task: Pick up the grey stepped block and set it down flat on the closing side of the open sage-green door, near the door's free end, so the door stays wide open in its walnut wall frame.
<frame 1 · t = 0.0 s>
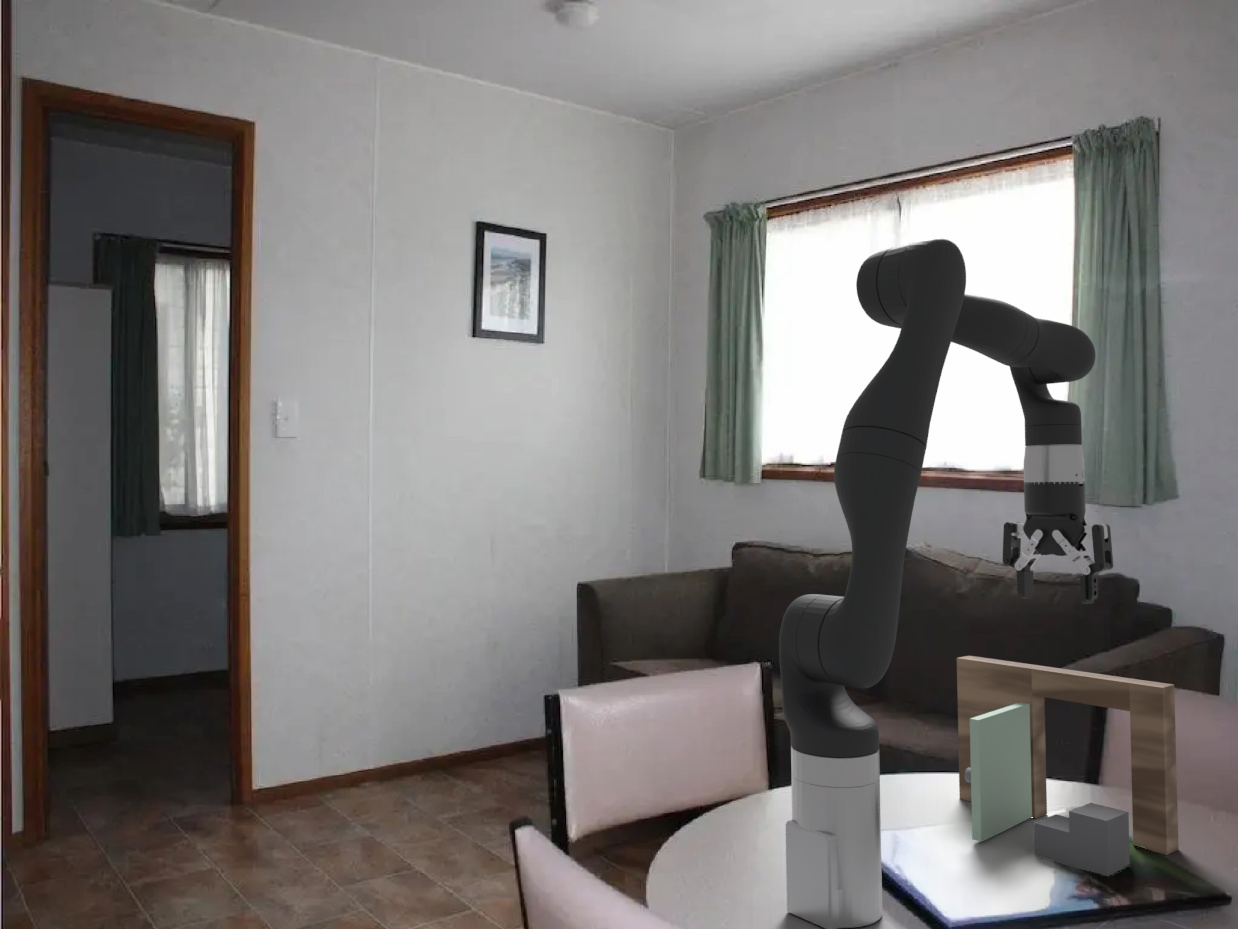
hand: (1056, 600, 135), 29 cm above the table, fingers open, 8 cm apart
grey stepped block: (1081, 862, 120), on the table
wall frame: (1088, 829, 130), on the table
door: (997, 768, 130), point 8 cm above the table, hinge at 85.0°
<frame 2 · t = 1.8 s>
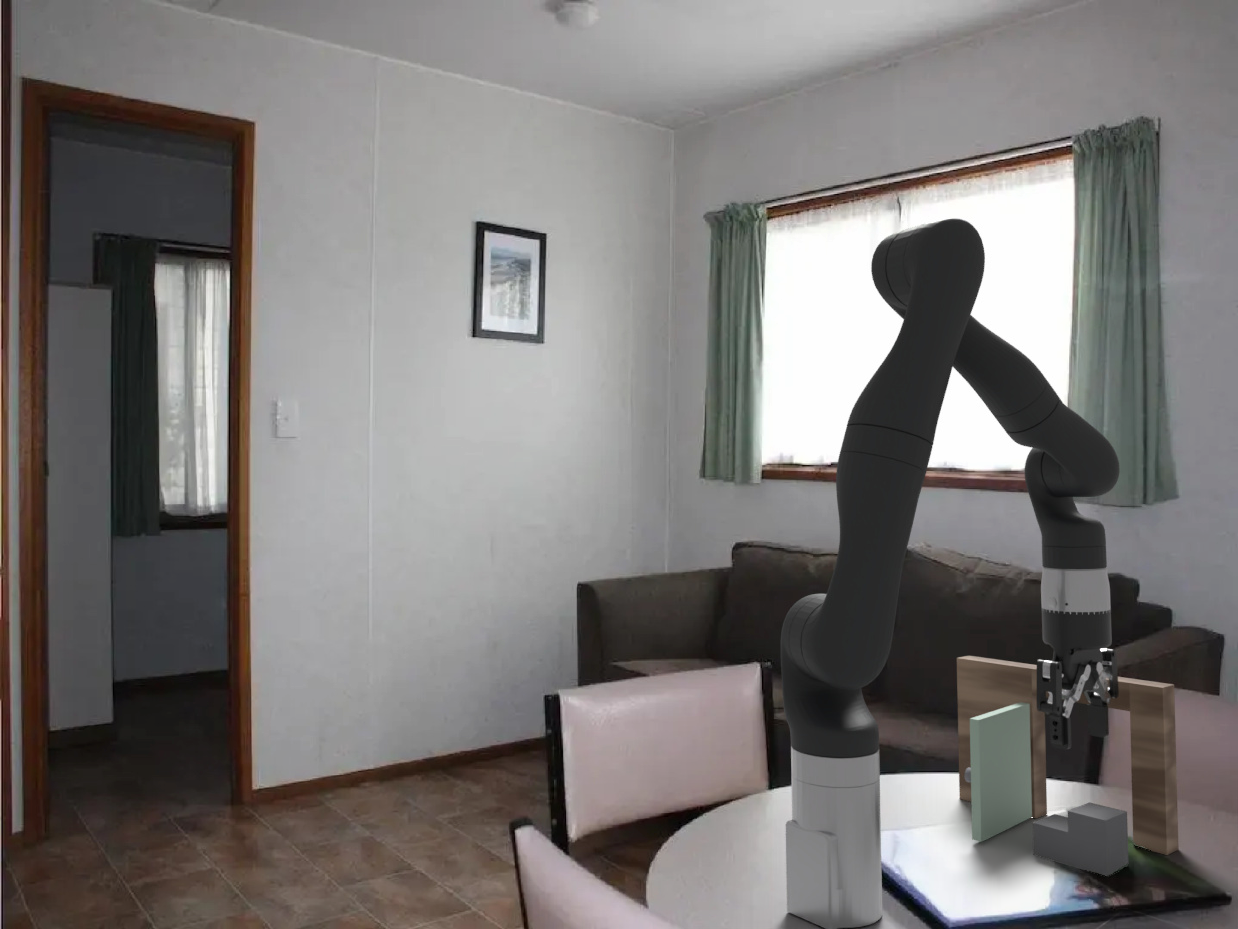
hand: (1080, 742, 120), 14 cm above the table, fingers open, 8 cm apart
nothing on the table moved.
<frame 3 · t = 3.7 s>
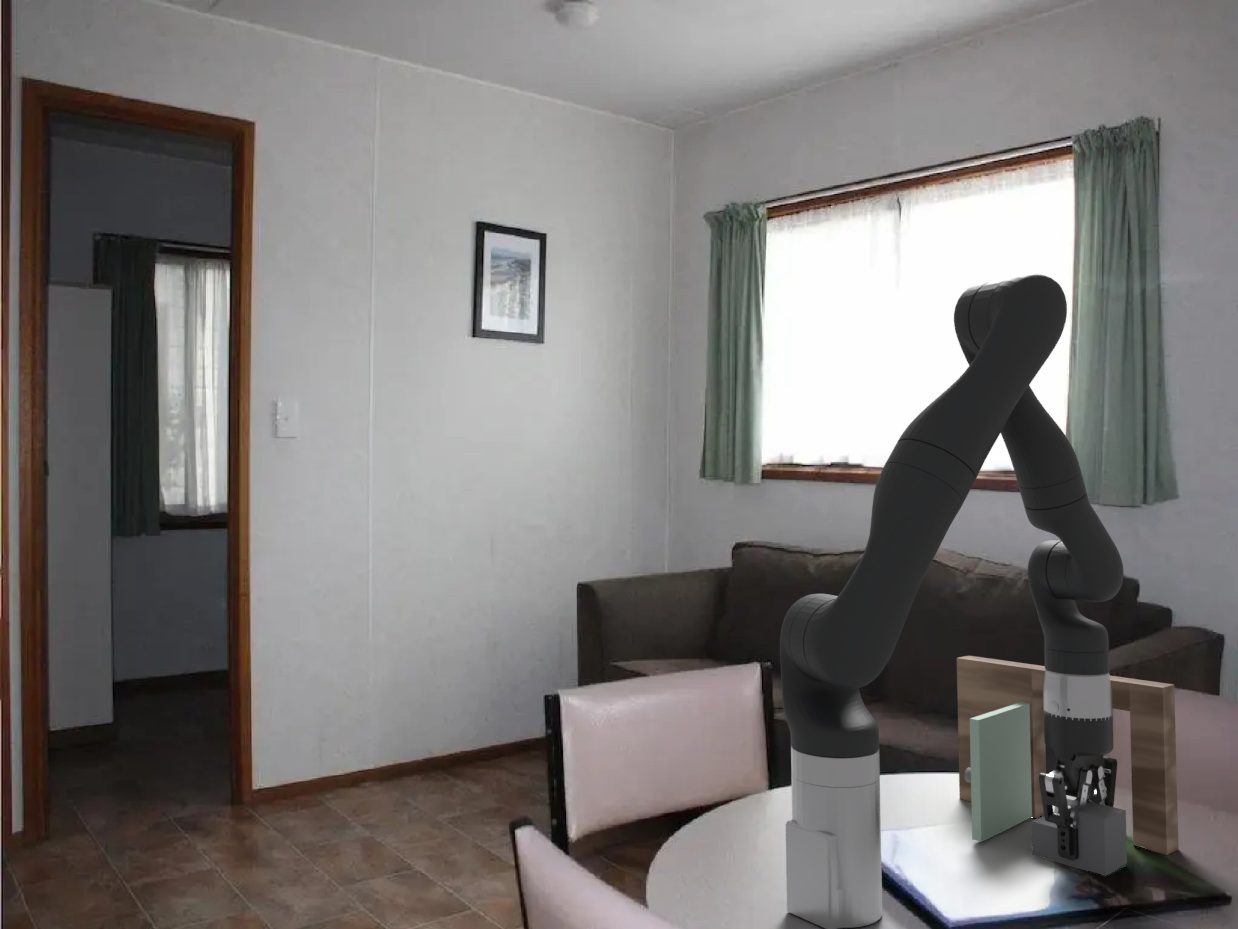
hand: (1080, 852, 120), 1 cm above the table, fingers closed on grey stepped block, 5 cm apart
grey stepped block: (1078, 860, 120), on the table, touching gripper
everything else where it was.
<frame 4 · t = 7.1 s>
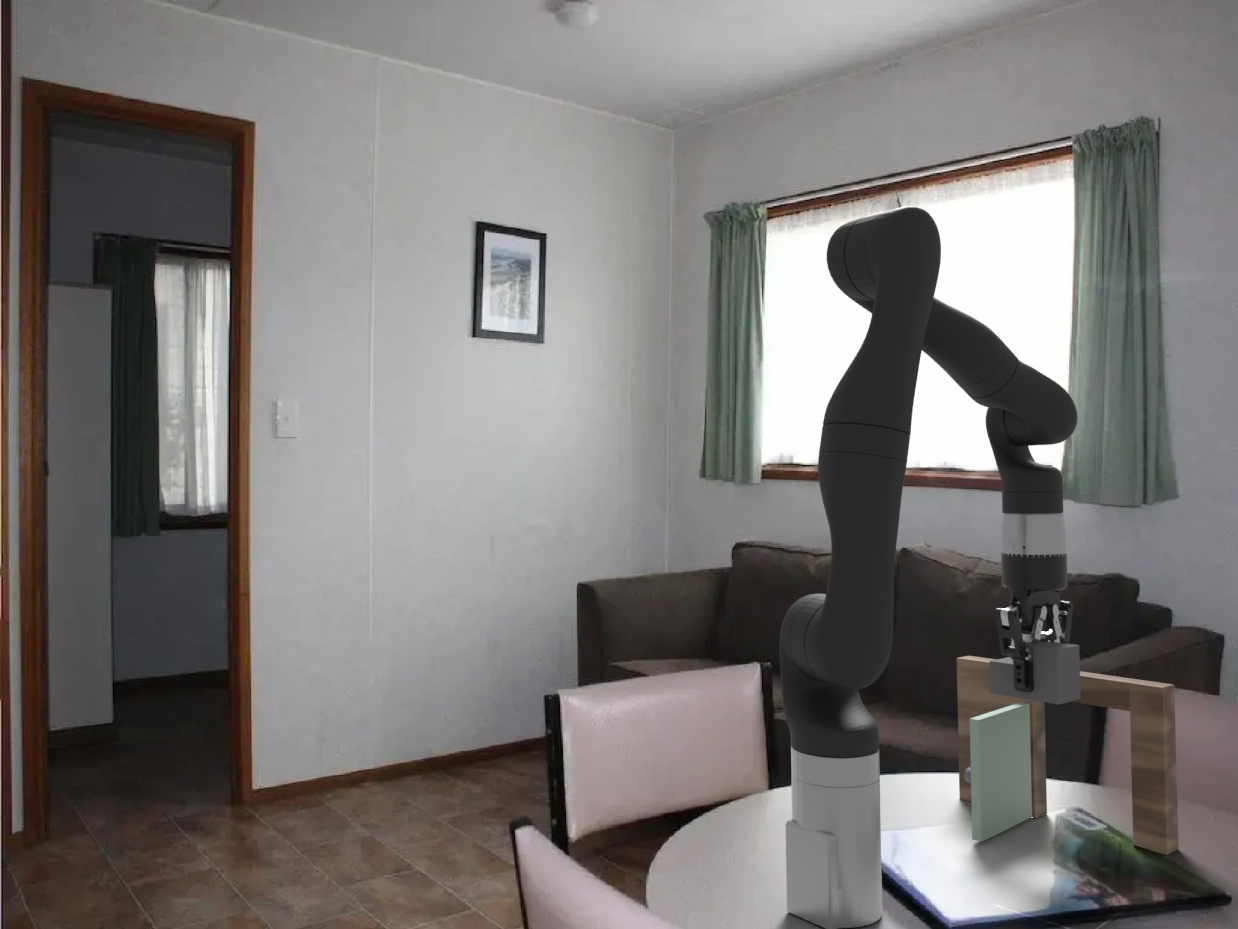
hand: (1036, 687, 124), 20 cm above the table, fingers closed on grey stepped block, 5 cm apart
grey stepped block: (1034, 696, 124), point 19 cm above the table, touching gripper
everything else where it was.
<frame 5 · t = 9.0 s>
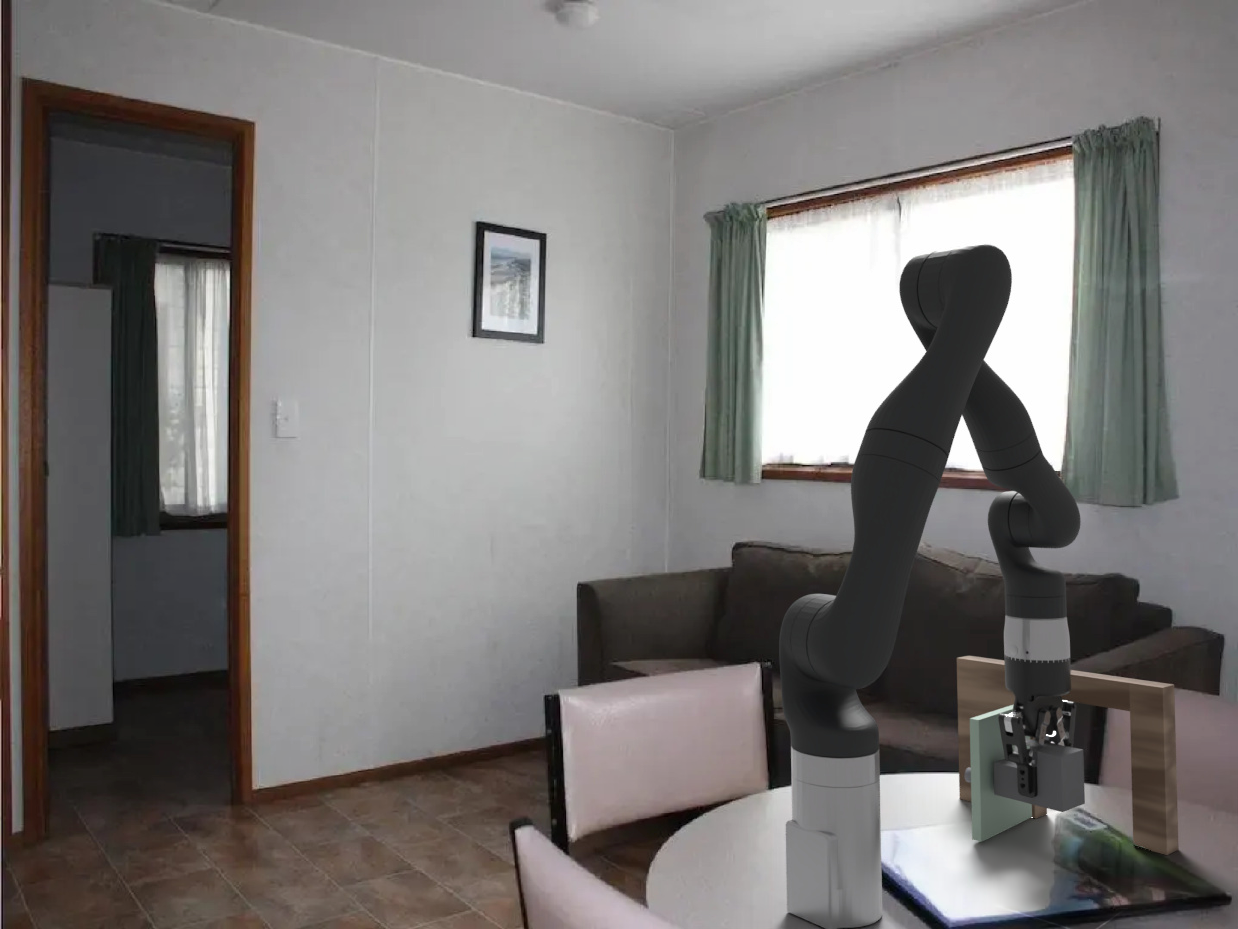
hand: (1040, 791, 124), 7 cm above the table, fingers closed on grey stepped block, 5 cm apart
grey stepped block: (1038, 799, 124), point 6 cm above the table, touching gripper
everything else where it was.
when the fingers open (2 cm above the table, at t = 10.6 s): grey stepped block stays where it is, on the table.
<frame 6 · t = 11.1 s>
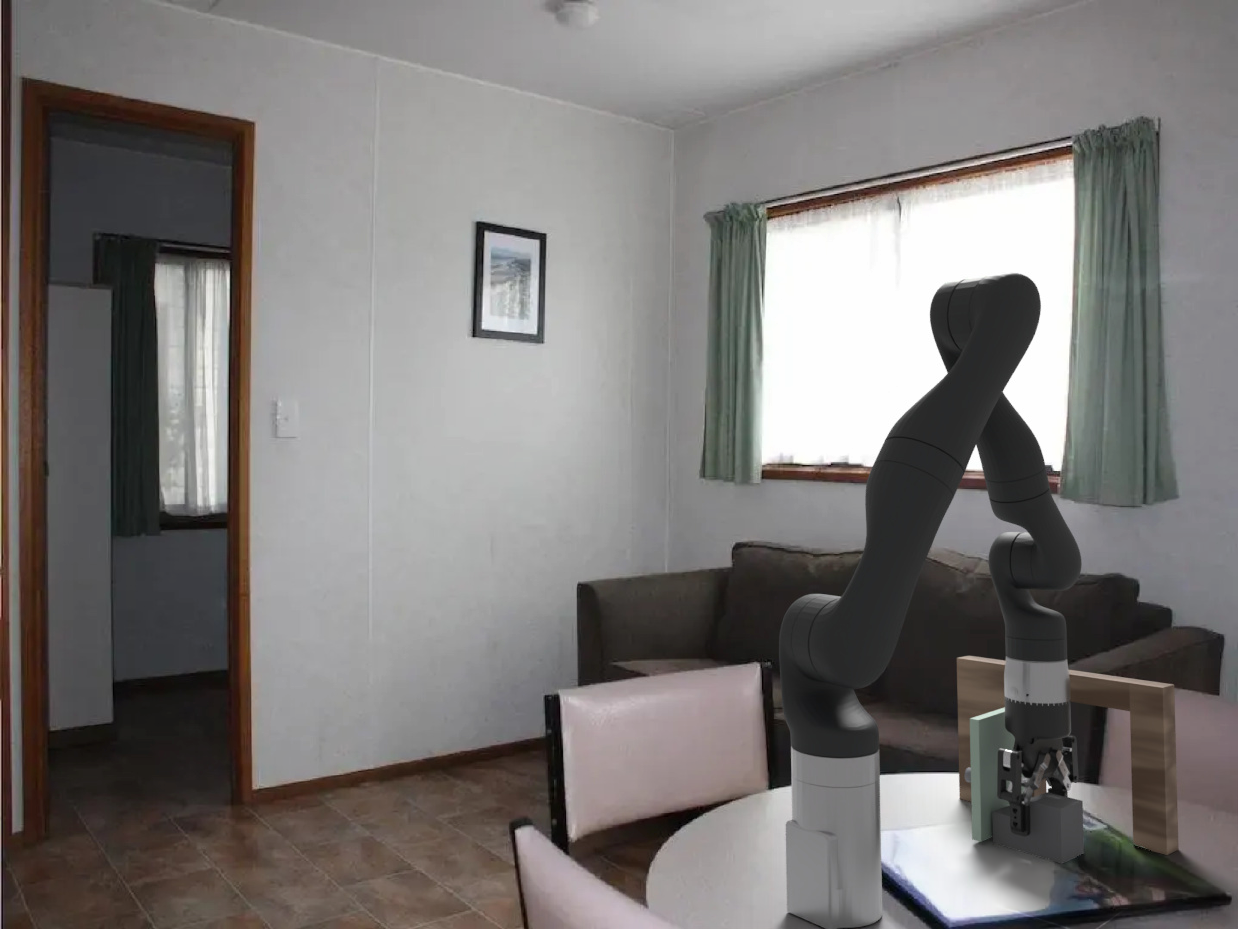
hand: (1039, 827, 124), 3 cm above the table, fingers open, 8 cm apart
grey stepped block: (1037, 849, 124), on the table
everything else where it was.
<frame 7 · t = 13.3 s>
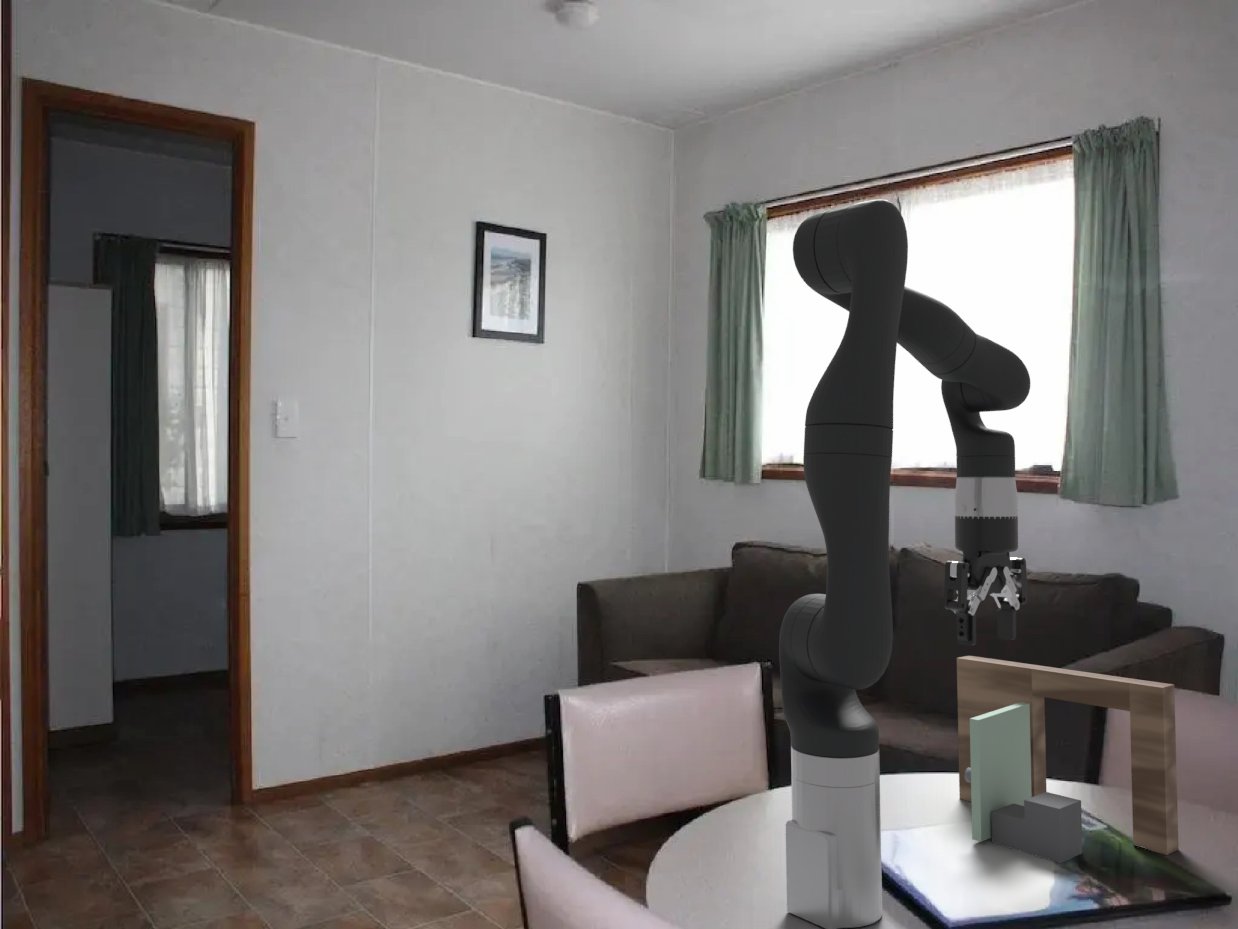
hand: (987, 642, 127), 25 cm above the table, fingers open, 8 cm apart
nothing on the table moved.
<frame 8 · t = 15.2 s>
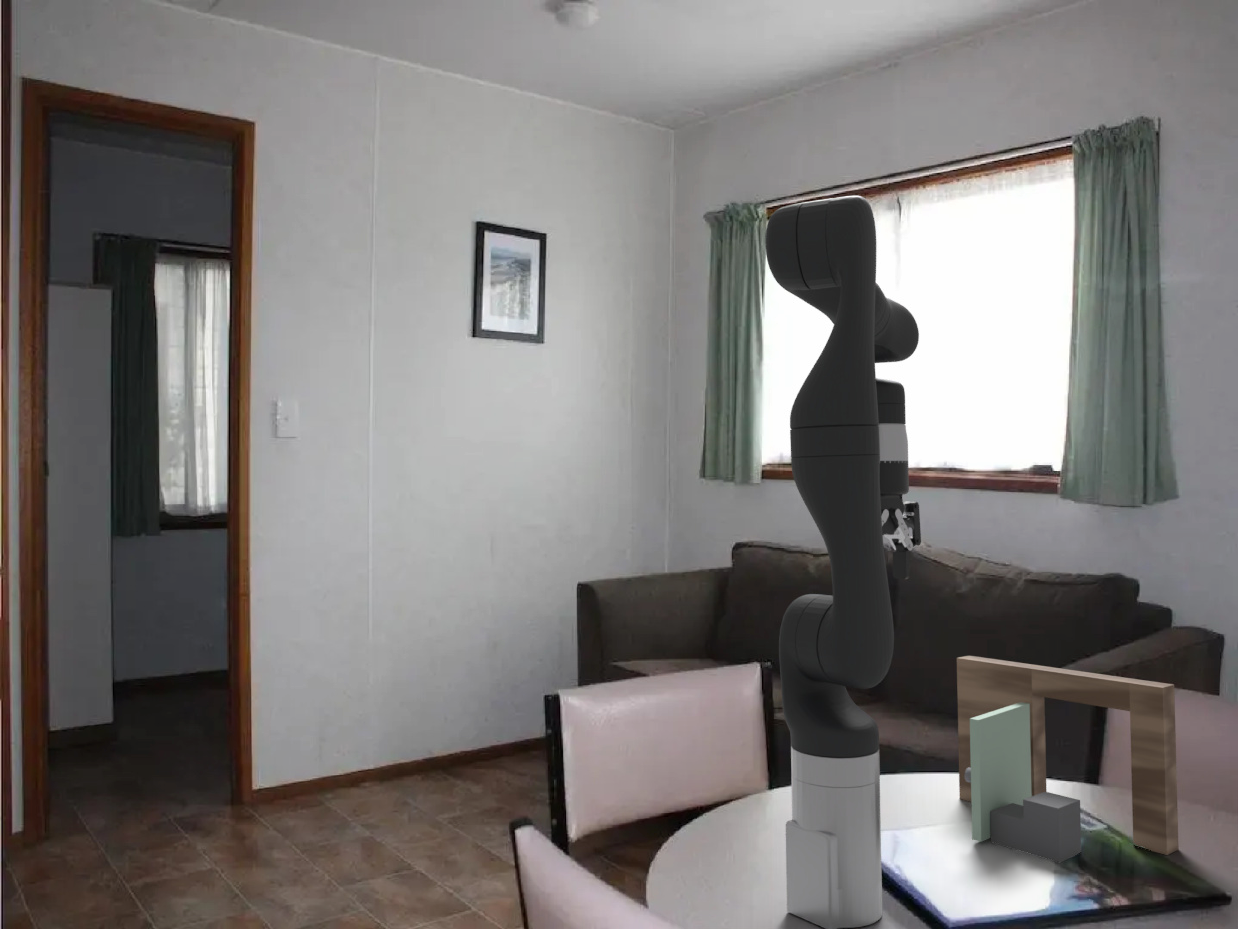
hand: (881, 580, 134), 32 cm above the table, fingers open, 8 cm apart
nothing on the table moved.
at the end: grey stepped block 0.5 cm from the target spot, on the table; grey stepped block tilted 0°; door at +85° (first picture: +85°) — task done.
